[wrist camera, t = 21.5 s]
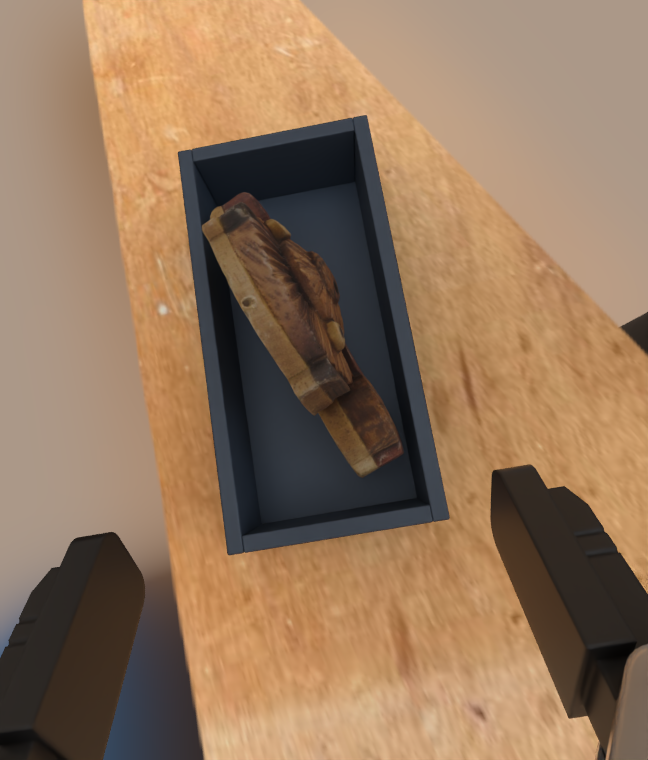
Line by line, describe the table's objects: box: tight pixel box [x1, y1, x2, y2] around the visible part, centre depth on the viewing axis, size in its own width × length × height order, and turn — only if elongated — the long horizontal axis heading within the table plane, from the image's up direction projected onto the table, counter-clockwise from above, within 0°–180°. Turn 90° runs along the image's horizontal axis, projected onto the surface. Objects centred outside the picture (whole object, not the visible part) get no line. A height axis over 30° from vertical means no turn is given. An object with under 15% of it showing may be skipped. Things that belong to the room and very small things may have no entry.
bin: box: [178, 115, 450, 555], centre depth 28 cm, size 11×22×6 cm, turn 9°
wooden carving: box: [202, 192, 404, 478], centre depth 25 cm, size 16×5×10 cm, turn 34°
